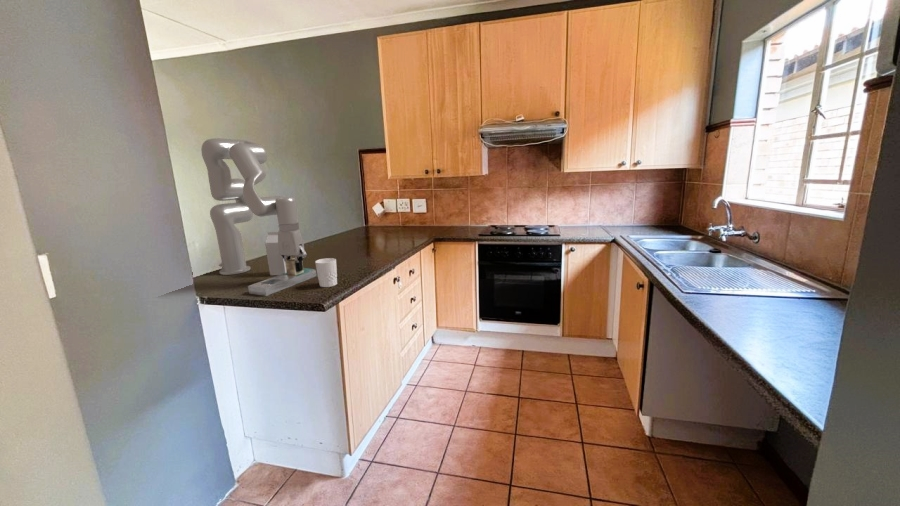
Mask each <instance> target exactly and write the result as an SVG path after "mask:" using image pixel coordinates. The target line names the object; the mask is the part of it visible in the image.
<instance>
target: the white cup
mask: <svg viewBox="0 0 900 506" xmlns="http://www.w3.org/2000/svg"><path fill="white" fill-rule="evenodd" d="M314 264H315V270H316V275H317V276H316V277H317V279H318V283H319V287H320V288H330V287H334V286H336V285H338V268H337V266H338V265H337V259H336V258H333V257H330V258H329V257H328V258H327V257H326V258H320V259H317V260H315V262H314Z"/></svg>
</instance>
